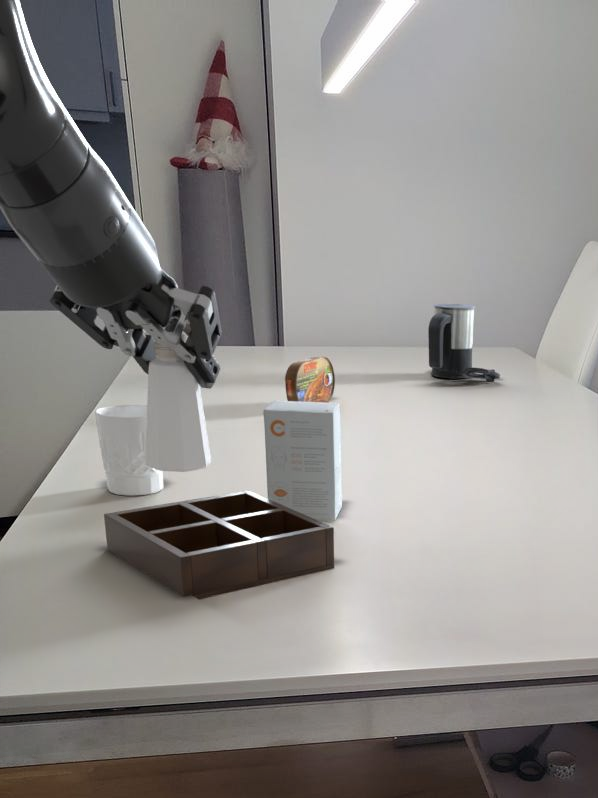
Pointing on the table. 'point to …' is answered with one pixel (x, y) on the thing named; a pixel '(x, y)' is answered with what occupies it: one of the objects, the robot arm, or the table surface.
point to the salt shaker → (174, 415)
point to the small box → (304, 457)
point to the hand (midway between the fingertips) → (186, 376)
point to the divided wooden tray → (220, 543)
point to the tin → (310, 380)
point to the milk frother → (454, 343)
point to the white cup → (126, 450)
